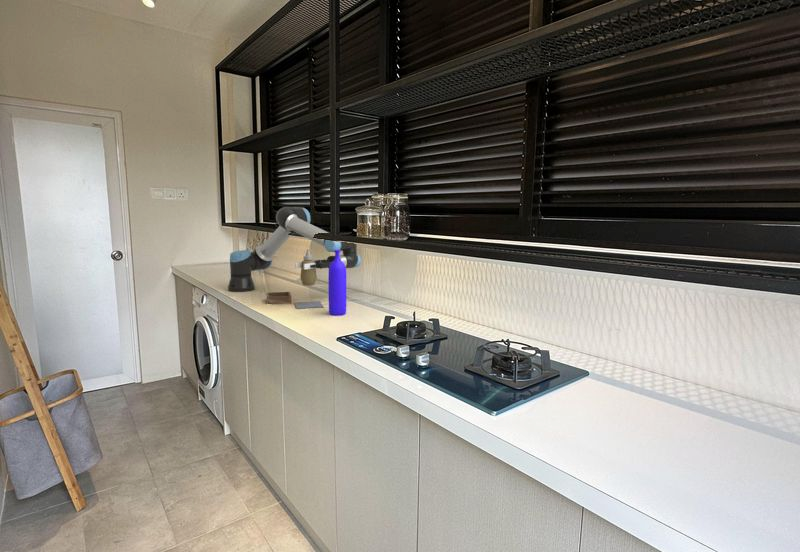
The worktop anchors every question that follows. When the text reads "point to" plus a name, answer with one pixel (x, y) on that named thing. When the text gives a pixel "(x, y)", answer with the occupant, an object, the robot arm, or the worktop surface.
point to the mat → (308, 305)
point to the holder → (279, 298)
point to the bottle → (337, 286)
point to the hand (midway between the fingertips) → (299, 266)
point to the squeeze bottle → (308, 271)
